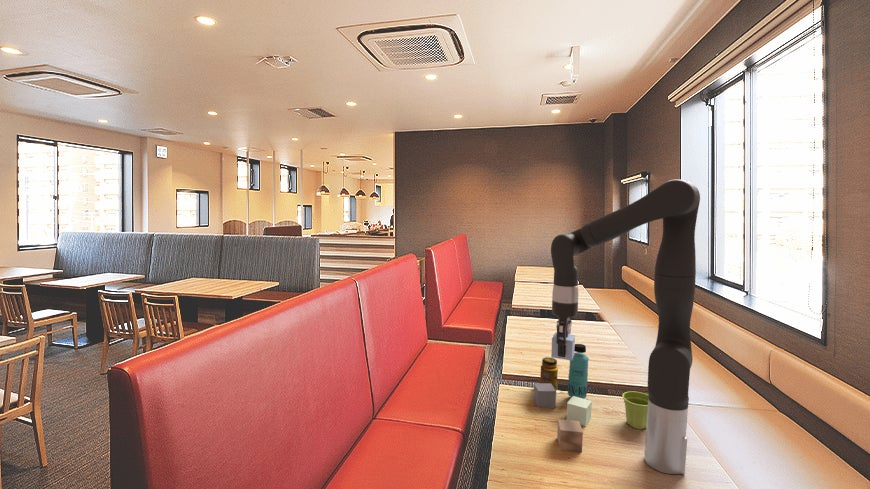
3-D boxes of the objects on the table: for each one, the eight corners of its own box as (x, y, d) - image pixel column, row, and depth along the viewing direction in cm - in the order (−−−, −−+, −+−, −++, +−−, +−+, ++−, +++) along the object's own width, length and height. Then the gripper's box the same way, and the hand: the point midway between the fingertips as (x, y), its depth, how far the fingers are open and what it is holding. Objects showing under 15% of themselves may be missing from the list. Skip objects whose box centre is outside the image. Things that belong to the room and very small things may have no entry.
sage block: (590, 418, 134) (591, 401, 133) (585, 426, 129) (586, 408, 129) (572, 413, 138) (572, 395, 137) (566, 420, 133) (567, 403, 132)
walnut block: (578, 440, 122) (579, 421, 121) (581, 452, 116) (582, 432, 115) (557, 438, 123) (557, 419, 122) (559, 450, 117) (560, 430, 116)
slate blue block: (574, 353, 129) (575, 335, 128) (571, 360, 124) (572, 340, 123) (554, 351, 132) (555, 332, 131) (551, 357, 126) (551, 338, 126)
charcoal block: (550, 399, 147) (551, 383, 146) (555, 408, 141) (556, 391, 140) (533, 399, 147) (534, 383, 146) (537, 407, 141) (538, 391, 140)
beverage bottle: (565, 394, 150) (568, 341, 148) (584, 395, 150) (587, 342, 148) (569, 403, 144) (571, 347, 142) (588, 404, 143) (591, 348, 141)
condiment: (561, 392, 153) (563, 360, 151) (546, 398, 148) (547, 365, 147) (546, 384, 159) (547, 354, 157) (530, 390, 154) (532, 359, 153)
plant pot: (653, 435, 124) (655, 408, 124) (619, 427, 129) (621, 400, 128) (654, 421, 133) (655, 395, 132) (621, 414, 137) (623, 388, 136)
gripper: (575, 305, 118) (573, 363, 119) (580, 295, 131) (578, 347, 132) (548, 303, 121) (546, 358, 123) (556, 293, 134) (554, 344, 136)
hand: (563, 352), depth 128 cm, fingers closed on slate blue block, 6 cm apart
